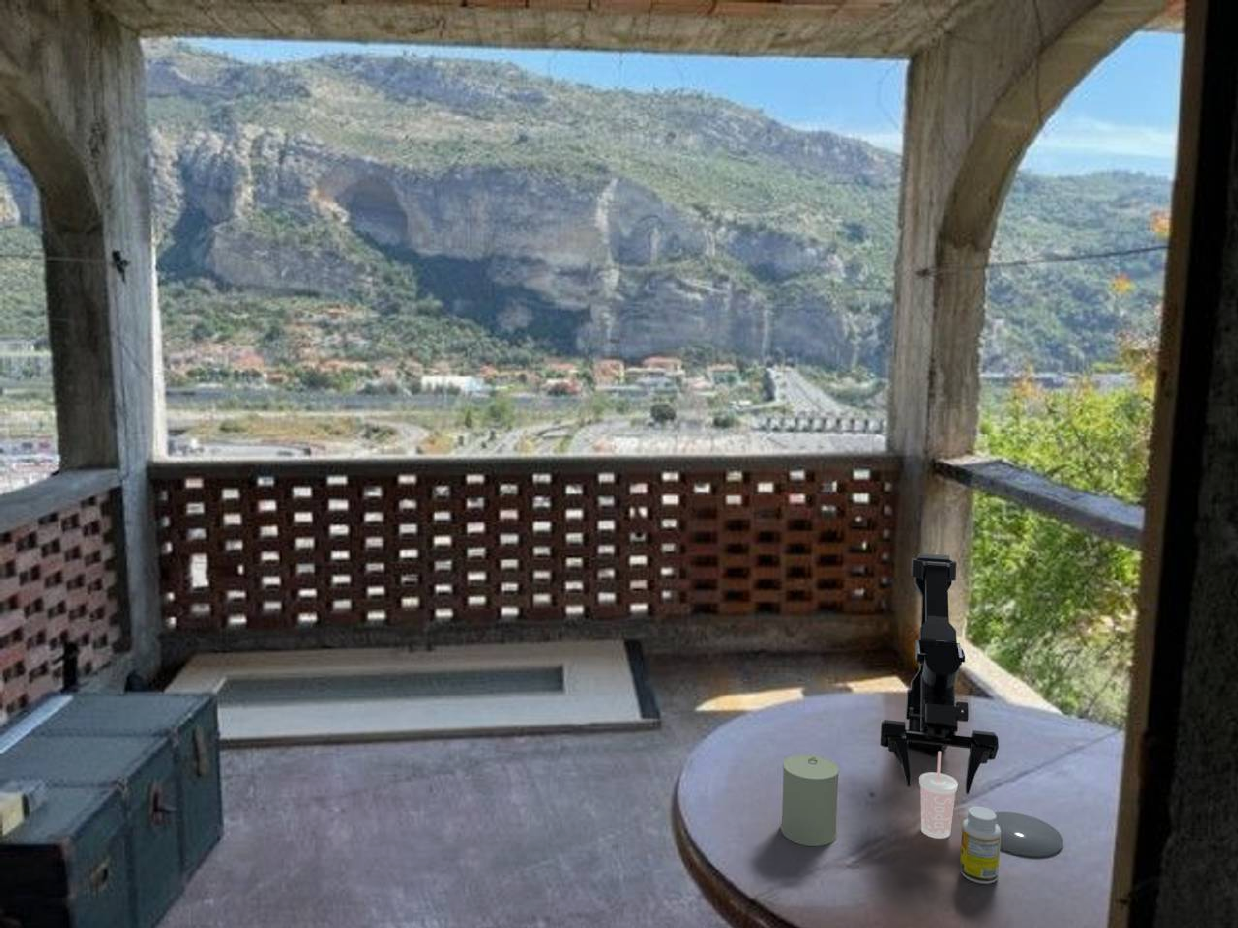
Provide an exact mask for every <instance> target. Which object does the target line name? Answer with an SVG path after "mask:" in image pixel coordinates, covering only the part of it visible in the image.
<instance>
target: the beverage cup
mask: <svg viewBox="0 0 1238 928" xmlns="http://www.w3.org/2000/svg"><path fill="white" fill-rule="evenodd" d="M941 764H942V751H941V752H940V751H939V752H938V755H937V768H936V770H937V771H936V772H933V771H931V772H930V771H929V772H923V773H922V774H920V775H919V777H918V784H919V787H920V830H921V832H922V833H923V834H924V835H926V836H927V837H929V838H932V839H938V840H940V839H941V840H942V839H947V838H948V837H950V835H951V830H952V829H951V828H952V822H953V813H954V806H955V798H956V792H957V790H958V787H959V784H958V781H957V780H956V779H955V778H954V777H953V776H950V775H948V774H945V773H941V769H942V767H941V766H942V765H941Z"/></svg>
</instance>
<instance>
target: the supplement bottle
mask: <svg viewBox="0 0 1238 928" xmlns="http://www.w3.org/2000/svg"><path fill="white" fill-rule="evenodd" d="M961 826H962V827H961V828H962V829H961V843H960V844H961V845H960V863H959V866H960V867H959V869H960V872H961V874H962V875H963V876H964V877H965V878H966V879H967V880H969V881H971V882H972V883H973V882H974V883H976V884H982V885H983V884H984V885H988V884H989V885H990V884H993V883H995V882H996V881H997V880H998V878H999V871H1000V858H1001V849H1000V845H1001V829H1000V827H999V826H998V825H997V824H996V814H995V811H993V810H992V809H989V808H987V807H983V806H972V807H970V808H969V810H968V815H967V818H965V819H963V822H962V825H961Z"/></svg>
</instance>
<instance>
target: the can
mask: <svg viewBox="0 0 1238 928" xmlns="http://www.w3.org/2000/svg"><path fill="white" fill-rule="evenodd" d="M782 767H783V768H782V769H783V770H782V772H783V773H782V774H783V775H782V804H781V805H782V807H781V808H782V810H781V811H782V812H781V823H780V831H781V833H782V835H783V836H784V838H786V839H787V840H790V841H791V842H793V843H795V844H798V845H801V846H807V847H809V846H810V847H820V846H826V845H829V844H831V843H833V842H834V841H835V840H836V839H837V837H838V832H837V813H838V810H837V809H838V790H839V774H840V768H839V765H838V764H837V763H836V762H834V761H833V760H832V759H829V758H828V757H825V756H823V755H822V756H821V755H817V754H811V753H802V754H801V753H799V754H794V755H791V756H788V757H786V758H785V759H784V761H783V763H782Z"/></svg>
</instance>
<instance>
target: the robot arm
mask: <svg viewBox="0 0 1238 928" xmlns="http://www.w3.org/2000/svg"><path fill="white" fill-rule="evenodd" d="M910 573H911V577H912V578H914V579H913V580H914V582H913V583H914V584H913V585H914V586H915V588H916V590H917V592H918V593H919V596H921V607H920V609H921V610H920V612H921V613H920V628H919V638H916V639H915V644H914V645H915V646H914V658H915V661H916V662H917V663H919V669H918V671H917V672H916V674H915V676H914V677H913V678H912V680H911V682H910V689H907V691H906V699H905V718H906V721H907V720H908V729H906V726H907V725H906V722H904V721H898V720H897V721H896V720H888V719H885V720H883V721H882V722H881V727H880V746H881V747H884V748H887V750H888V751H887V752H889V753H893V754H894V755H895V757H896V759H897V762H898V764H899V765H900V768H901V771H902V773H903V777H904V779H905V783H906V785H907V787H911V777H912V776H911V767H910V766H911V764H910V757H909V749H910V750H912V751H913V750H914V751H917V752H919V753H922V754H926V755H929V756H933V757H936V756H937V757H938V752H939V751H940V752H941V753H942V751H943V750H945V749H946V748H947V747H952V748H959V749H969V756H968V760H967V769H966V770H967V771H966V781H965V794H966V795H970V791H971V788H972V784H973V780H974V779H975V775H976V773H977V770H979V767H980V765H981V764H987V763H988V760H989V761H991V760H995V759H996V756H997V754H998V752H999V749H1000V746H999V737H998V735H997V734H996V733H995V732H994V731H984V730H975V729H973V730H972V733H971V736H965V735H958V734H957V735H956V732H958V730H959V729H958V728H959V727H958V722H961V723H962V722H963V723H968V722H969V715H970V714H969V702H966V701H956V693H955V692H956V683H957V680H958V676H959V671H960V668H961V666H962V665H963V663H964V664H965V663H966V654H965V652H964V651H965V650H964V649H963V648H962V646H961V643H960V642H958V640H957V639H958V638H957V630H956V628H954V626H953V625H952V624H951V622H950V621H949V620H950V619H949V617H950V616H949V594H948V593H949V592H948V590H949V589H950V588H951V585H952V581H957V561H955V560H952V559H950V555H949V554H935V553H924V552H923V553H920V552H919V553H918V554H917V557H916V558H914V557H912V558H911V572H910Z"/></svg>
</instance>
